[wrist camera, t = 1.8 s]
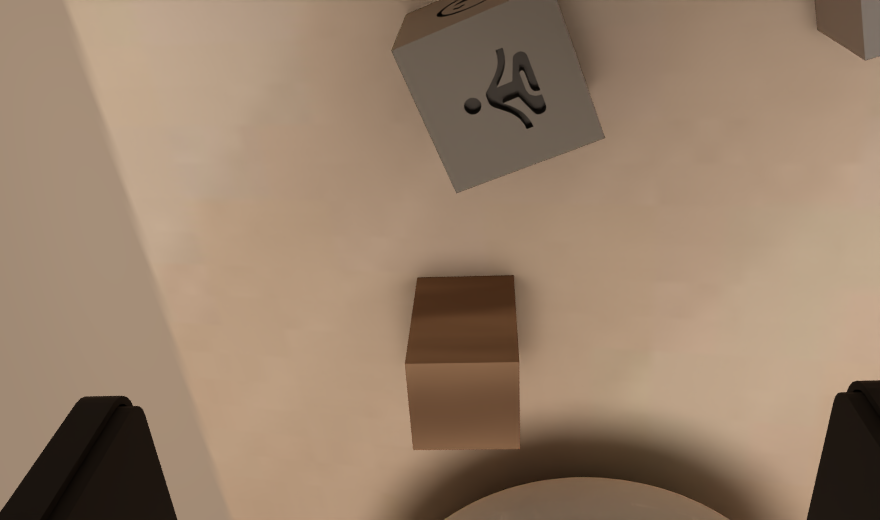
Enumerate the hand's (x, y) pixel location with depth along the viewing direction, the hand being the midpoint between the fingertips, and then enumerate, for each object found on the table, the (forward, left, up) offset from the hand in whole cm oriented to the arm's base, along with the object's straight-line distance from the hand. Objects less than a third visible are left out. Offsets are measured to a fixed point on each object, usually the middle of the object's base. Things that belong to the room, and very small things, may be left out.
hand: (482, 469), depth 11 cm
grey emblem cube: (0, +1, -21) cm, 21 cm away
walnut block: (+11, -1, -20) cm, 23 cm away
